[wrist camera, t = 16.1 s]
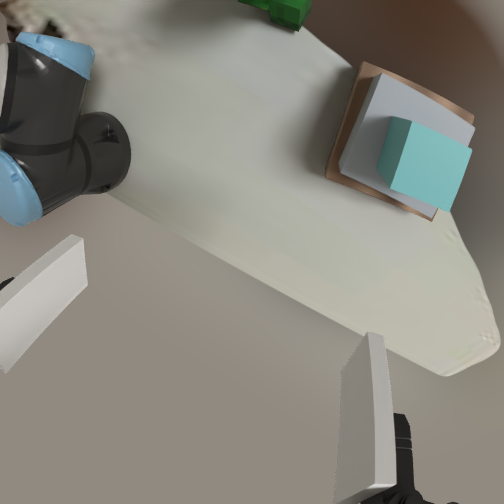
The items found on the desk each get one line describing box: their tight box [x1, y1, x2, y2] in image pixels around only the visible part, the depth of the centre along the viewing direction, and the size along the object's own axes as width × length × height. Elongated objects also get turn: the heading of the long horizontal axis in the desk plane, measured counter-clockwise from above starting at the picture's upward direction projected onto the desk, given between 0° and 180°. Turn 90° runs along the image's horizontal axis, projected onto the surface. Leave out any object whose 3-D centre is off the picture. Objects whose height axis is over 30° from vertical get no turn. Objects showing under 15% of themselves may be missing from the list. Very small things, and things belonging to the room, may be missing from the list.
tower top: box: [339, 73, 475, 218], centre depth 30 cm, size 12×12×6 cm
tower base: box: [325, 62, 474, 222], centre depth 36 cm, size 16×16×6 cm
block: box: [376, 116, 472, 212], centre depth 25 cm, size 6×6×8 cm
